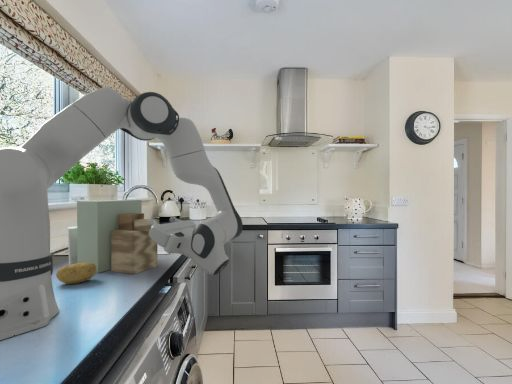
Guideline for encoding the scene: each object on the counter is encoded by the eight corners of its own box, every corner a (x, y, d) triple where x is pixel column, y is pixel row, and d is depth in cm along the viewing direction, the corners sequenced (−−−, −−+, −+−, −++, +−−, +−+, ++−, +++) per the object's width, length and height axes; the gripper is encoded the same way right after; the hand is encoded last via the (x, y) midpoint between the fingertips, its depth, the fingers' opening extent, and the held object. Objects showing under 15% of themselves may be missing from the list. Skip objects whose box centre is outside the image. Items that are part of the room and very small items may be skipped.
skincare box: (91, 261, 120) (91, 224, 120) (93, 264, 115) (93, 226, 115) (67, 264, 115) (67, 226, 115) (69, 267, 110) (68, 227, 110)
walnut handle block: (149, 232, 101) (148, 215, 101) (118, 229, 108) (118, 214, 108) (161, 230, 107) (161, 214, 107) (131, 227, 114) (131, 212, 114)
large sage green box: (97, 272, 103) (97, 201, 103) (77, 269, 108) (76, 201, 108) (141, 260, 121) (141, 199, 121) (122, 258, 126) (122, 199, 126)
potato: (95, 283, 91) (95, 263, 91) (53, 288, 87) (53, 267, 87) (97, 277, 97) (97, 259, 97) (58, 281, 93) (58, 262, 93)
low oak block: (132, 274, 101) (131, 232, 101) (111, 270, 106) (111, 230, 106) (157, 266, 112) (157, 228, 112) (137, 263, 116) (137, 226, 116)
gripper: (209, 229, 106) (184, 210, 111) (171, 237, 88) (142, 214, 93) (202, 243, 107) (178, 223, 113) (163, 254, 89) (136, 230, 94)
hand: (161, 219), depth 103 cm, fingers open, 8 cm apart
